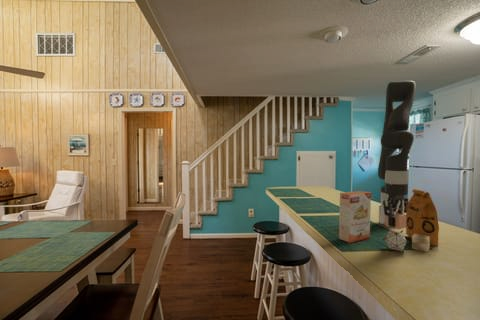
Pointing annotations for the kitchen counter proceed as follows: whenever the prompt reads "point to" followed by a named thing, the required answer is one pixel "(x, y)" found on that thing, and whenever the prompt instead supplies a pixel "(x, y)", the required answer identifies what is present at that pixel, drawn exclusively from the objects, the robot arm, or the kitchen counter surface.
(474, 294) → the kitchen counter surface
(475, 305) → the kitchen counter surface
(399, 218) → the terracotta block
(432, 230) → the coffee package
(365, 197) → the cracker box
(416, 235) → the birch block
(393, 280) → the kitchen counter surface
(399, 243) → the game die
